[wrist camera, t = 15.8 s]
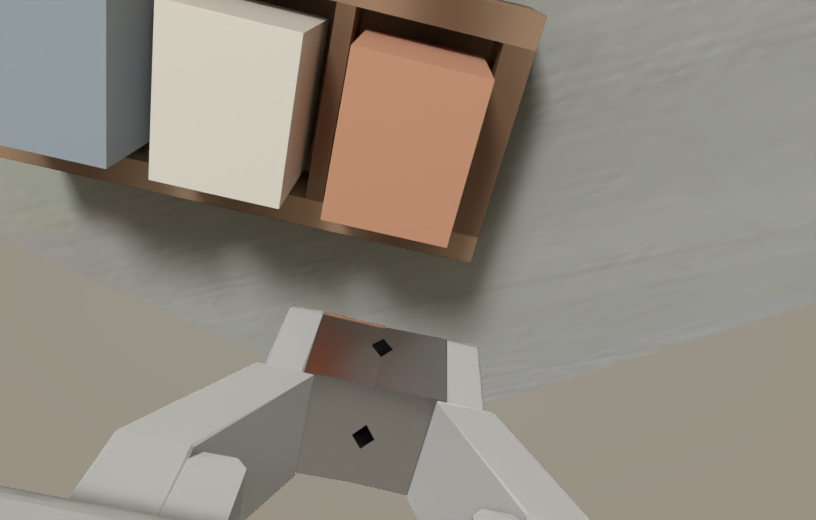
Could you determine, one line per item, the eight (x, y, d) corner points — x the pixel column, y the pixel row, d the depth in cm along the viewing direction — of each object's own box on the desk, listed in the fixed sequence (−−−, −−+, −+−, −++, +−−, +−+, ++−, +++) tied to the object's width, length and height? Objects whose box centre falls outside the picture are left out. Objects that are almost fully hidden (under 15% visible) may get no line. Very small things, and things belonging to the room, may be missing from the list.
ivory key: (329, 18, 23) (303, 32, 19) (306, 165, 26) (278, 209, 21) (209, -12, 23) (154, -4, 18) (199, 140, 25) (148, 179, 21)
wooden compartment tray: (531, 7, 25) (546, 16, 21) (466, 225, 29) (470, 262, 26) (37, -118, 24) (-35, -131, 20) (48, 130, 28) (-9, 155, 24)
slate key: (171, -21, 23) (106, -16, 18) (164, 131, 25) (106, 169, 21) (47, -52, 22) (-49, -54, 18) (54, 106, 25) (-29, 138, 21)
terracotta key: (483, 56, 23) (494, 80, 19) (445, 198, 26) (446, 248, 22) (367, 28, 23) (350, 45, 19) (340, 174, 26) (320, 219, 21)
